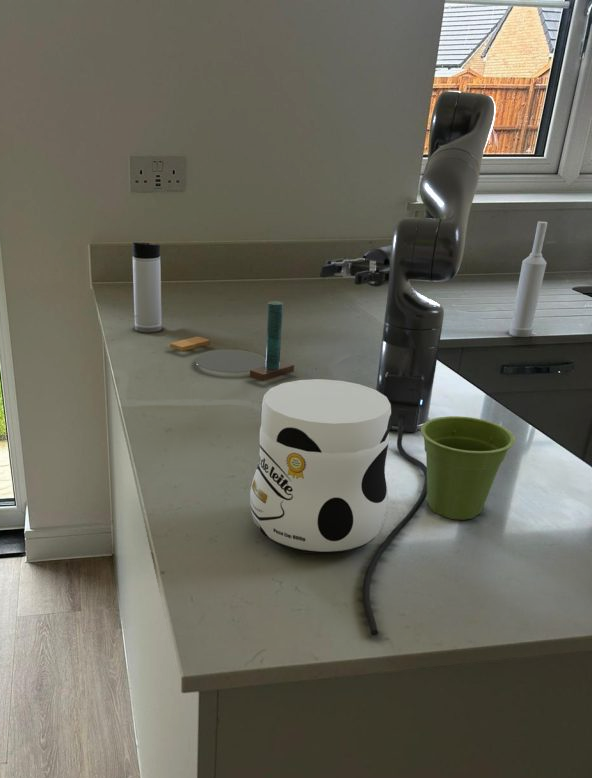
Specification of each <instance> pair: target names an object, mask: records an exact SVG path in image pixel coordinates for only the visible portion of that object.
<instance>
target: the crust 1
mask: <svg viewBox="0 0 592 778" xmlns="http://www.w3.org/2000/svg"><path fill="white" fill-rule="evenodd" d="M169 347H170V348H172V349H175V350H177V351H180V352H185V351H188V350H192V349H197V347H196V344H195V343H192V342H189V341H186V340H185V339H182V340H178V341H174V342H169Z"/></svg>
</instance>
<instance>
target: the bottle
mask: <svg viewBox="0 0 592 778" xmlns="http://www.w3.org/2000/svg"><path fill="white" fill-rule="evenodd" d="M547 227H548V222H547V221H537V224H536V229H535V236H534V239H533V246H532V250H531V252H530V253H529V256H527V257H526V258H525V259H523V260H522V262H521V269H520V274H519V279H518V285H517V290H516V295H515V302H514V308H513V312H512V313H513V314H512V319H511V324H510V325H509V329H508V334H509V335H510V336H513V337H517V338H529V337H531V335H532V334H533V333H532V332H533V329H534V327H533V323H534V319H535V315H536V310H537V307H538V302H539V298H540V293H541V289H542V286H543V281H544V276H545V271H546V268H547V261H546V260H545V258H544V257H543V254H542V250H543V246H544V240H545V236H546V232H547Z"/></svg>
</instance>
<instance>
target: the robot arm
mask: <svg viewBox="0 0 592 778" xmlns="http://www.w3.org/2000/svg"><path fill="white" fill-rule="evenodd" d="M495 116H496V103H495V101H494V99H493V97H492V96H491V95H488V94H485V93H479V92H469V91H458V90H445V91H442V92H441V93H440V94H439V95H438V97H437V98H436V101H435V103H434V106H433V110H432V114H431V119H430V125H429V136H428V149H427V151H428V152H427V162H426V163H425V167H424V170H423V173H422V176H421V180H420V184H419V195H420V199H421V201H422V204H423V206H424V207H423V213H422V217H413V216H406V217H402V218H400V219H399V220H398V221H397V223H396V224H395V226H394V229H393V232H392V237H391V243H390V244H391V245H386V246H381V247H376V248H371V249H369V250H368V251H367V252H366V253H364V255H363V257H357V258H355V259H349V258H348V257H342V258H335V259H334V258H333V259H328V260H326V264H325V265H321V266H320V270H319V277H320V278H323V279H324V278H325V279H326V278H329V277H337V276H341V277H342V278H343V279H354V283H353V284H354V285H357V286H359V285H365V284H368V285H369V286H371V287H375V288H377V287H382V286H386V285H387V287H388V288H387V295H386V305H385V311H384V320H383V328H382V338H381V345H380V354H379V363H378V370H377V378H376V386H375V390H377V391H378V392H380V393H381V394H383V395H384V396H386V397H387V399H388V401H389V403H390V405H391V425H390V430H389V431H397V438H396V447H397V450H398V453H399V454H400V456H402V457H403V458H404V459H405V460H407V461H408V462H410V463H412V464H413V465H415V466H416V467H418V468H420V469H421V471H422V473H423V477H424V481H423V486H422V490H421V493H420V496H419V497H418V499H417V501H416V502H415V503H414V505H413V507H412V508H411V509H410V510H409V512H407V514H406V515H405V517H404V518H403V519H402V520H401V521H400V522H399V523H398V524H397V525H396V526H395V527H394V528H393V530H392V531H391V532H390V533H389V535H388V536H387V537H386V538H385V539H384V541H383V542H382V543H381V544H380V546H379V547H378V548H377V549H376V551H375V553H374V554H373V556H372V558H371V560H370V561H369V564H368V566H367V569H366V571H365V574H364V576H363V577H364V578H363V582H362V592H361V593H362V604H363V605H362V606H363V610H364V613H365V617H366V620H367V623H368V627H369V631H370V635H371V636H372V637H373V636H374V637H376V636H378V634H379V630H378V627H377V622H376V620H375V616H374V613H373V610H372V606H371V597H370V594H371V593H370V592H371V591H370V588H371V581H372V577H373V574H374V572H375V569H376V567H377V565H378V562H379V560H380V558H381V557H382V555H383V554H384V552H385V551H386V550H387V549H388V548H389V546H390V545H391V544H392V542H393V541H394V540H395V538H396V537H397V536H398V535H399V534H400V533H401V531H402V530H404V528H405V527H406V526H407V525H408V524H409V522H411V520H412V519H413V518H414V516H415V515H416V514H417V513H418V510H420V508H421V506H422V504H423V503H424V502H425V500H426V499H427V465H426V464H424V463H423V462H422V461H421V460H418V459H417V458H415V457H413V456H412V455H409V454H408V453H407V452H406V451H405V449H404V447H403V435H404V434H403V433H404V432H407V433H413V434H414V433H417V431H421V426H422V425H423V424H424V423H425V422H427V421H429V413H430V408H431V400H432V394H433V387H434V382H435V375H436V368H437V362H438V355H439V349H440V344H441V343H440V342H441V336H442V330H443V324H444V317H445V310H444V306H442V304H440V303H438V302H436V301H435V300H433V299H431V298H429V297H426V296H425V295H422V294H421V293H420V292H418V290H416V289H415V288H414V287H413V285H412V284H411V281H421V282H435V283H442V282H449V281H451V280H453V279H454V278H455V276H456V275H457V274H458V272H459V270H460V267H461V264H462V261H463V257H464V253H465V246H466V240H467V232H468V223H469V218H470V213H471V208H472V204H473V201H474V199H475V195H476V192H477V188H478V185H479V179H480V173H481V168H482V162H483V157H484V153H485V149H486V148H487V145H488V141H489V139H490V136H491V133H492V129H493V126H494V123H495ZM348 269H349V273H348Z"/></svg>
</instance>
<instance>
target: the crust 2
mask: <svg viewBox="0 0 592 778" xmlns="http://www.w3.org/2000/svg"><path fill="white" fill-rule="evenodd" d="M184 340H186V341H189V342H192V343H195V344H196V348H200V347H203V346H207V345H210V344H211V340H210V339H208V338H204V337H202V336H198V335H197V336H193V337H189V338H186V339H185V338H184Z"/></svg>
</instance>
